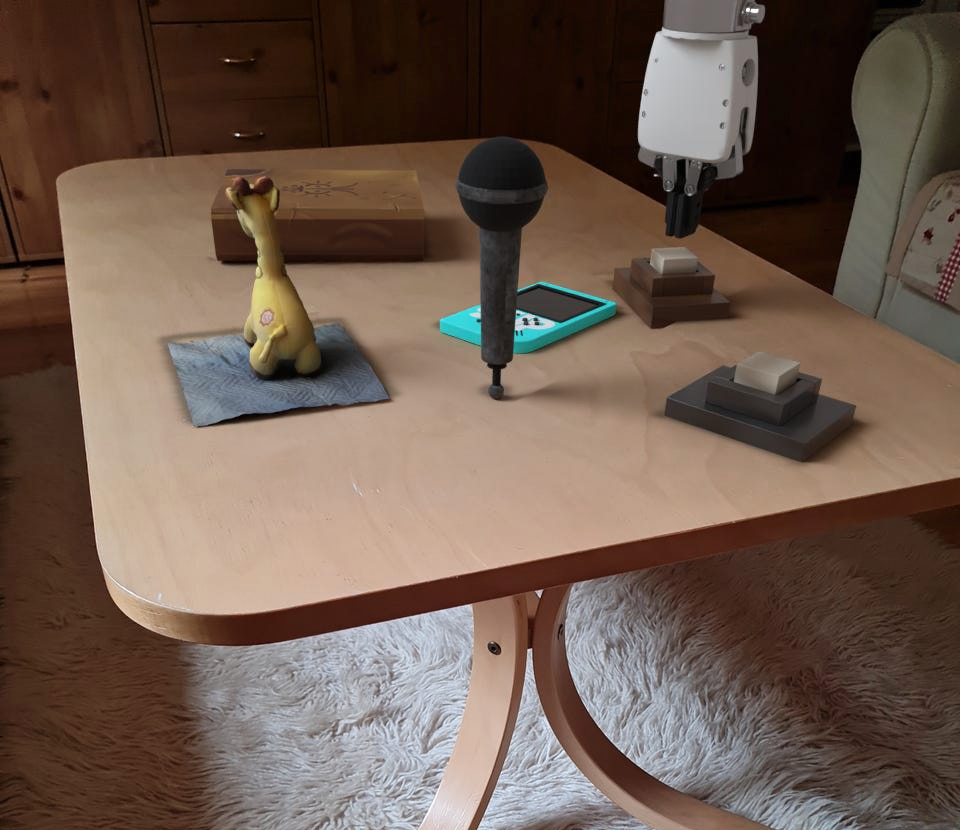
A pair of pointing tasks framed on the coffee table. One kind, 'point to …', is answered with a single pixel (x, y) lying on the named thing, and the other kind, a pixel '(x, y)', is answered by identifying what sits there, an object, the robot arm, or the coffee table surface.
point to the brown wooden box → (330, 216)
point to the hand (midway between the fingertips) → (680, 234)
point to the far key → (673, 260)
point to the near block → (762, 413)
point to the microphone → (500, 235)
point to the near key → (767, 372)
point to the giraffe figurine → (271, 339)
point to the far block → (669, 294)
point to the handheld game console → (537, 316)
